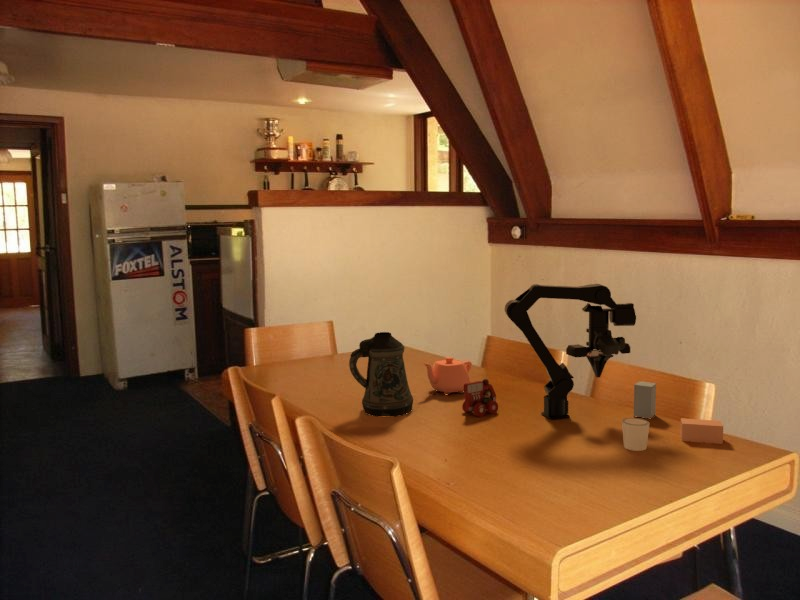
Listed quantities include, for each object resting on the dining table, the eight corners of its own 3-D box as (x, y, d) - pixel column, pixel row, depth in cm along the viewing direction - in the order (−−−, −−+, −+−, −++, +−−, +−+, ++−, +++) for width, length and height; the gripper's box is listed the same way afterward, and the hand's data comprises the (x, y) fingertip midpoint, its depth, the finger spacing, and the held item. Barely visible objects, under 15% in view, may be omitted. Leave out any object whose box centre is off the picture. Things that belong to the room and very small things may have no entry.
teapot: (413, 391, 241) (413, 357, 239) (461, 384, 250) (460, 351, 248) (433, 400, 229) (432, 364, 227) (482, 391, 238) (482, 357, 237)
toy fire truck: (502, 411, 213) (502, 379, 212) (472, 419, 206) (472, 385, 205) (488, 407, 219) (487, 375, 218) (458, 414, 212) (457, 381, 211)
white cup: (648, 444, 181) (649, 418, 180) (649, 452, 174) (649, 426, 173) (621, 441, 183) (622, 416, 182) (621, 450, 176) (621, 424, 175)
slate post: (633, 417, 205) (634, 384, 204) (638, 413, 209) (639, 381, 208) (650, 419, 202) (651, 386, 201) (655, 415, 206) (656, 383, 205)
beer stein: (424, 408, 218) (422, 332, 215) (381, 422, 204) (379, 341, 201) (387, 400, 230) (385, 327, 227) (344, 413, 216) (342, 335, 213)
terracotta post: (682, 423, 182) (723, 426, 179) (680, 418, 187) (720, 420, 184) (681, 441, 183) (722, 444, 180) (680, 435, 187) (720, 438, 184)
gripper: (584, 332, 193) (584, 386, 195) (642, 328, 198) (641, 380, 200) (565, 326, 204) (565, 377, 206) (620, 322, 209) (619, 372, 211)
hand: (598, 377), depth 205 cm, fingers closed
